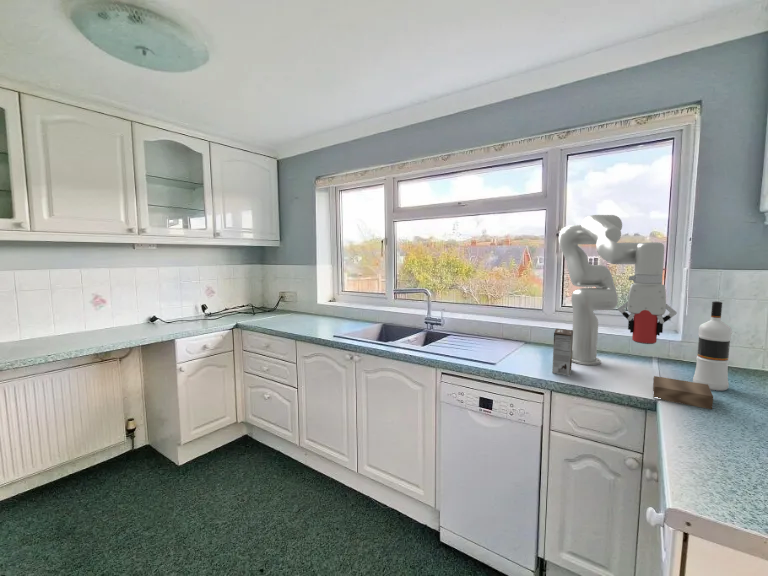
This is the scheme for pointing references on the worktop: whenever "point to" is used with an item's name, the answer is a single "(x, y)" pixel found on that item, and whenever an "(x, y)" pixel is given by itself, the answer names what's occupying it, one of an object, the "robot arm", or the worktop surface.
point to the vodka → (713, 351)
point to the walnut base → (683, 392)
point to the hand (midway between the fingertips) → (644, 332)
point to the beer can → (645, 328)
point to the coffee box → (562, 351)
